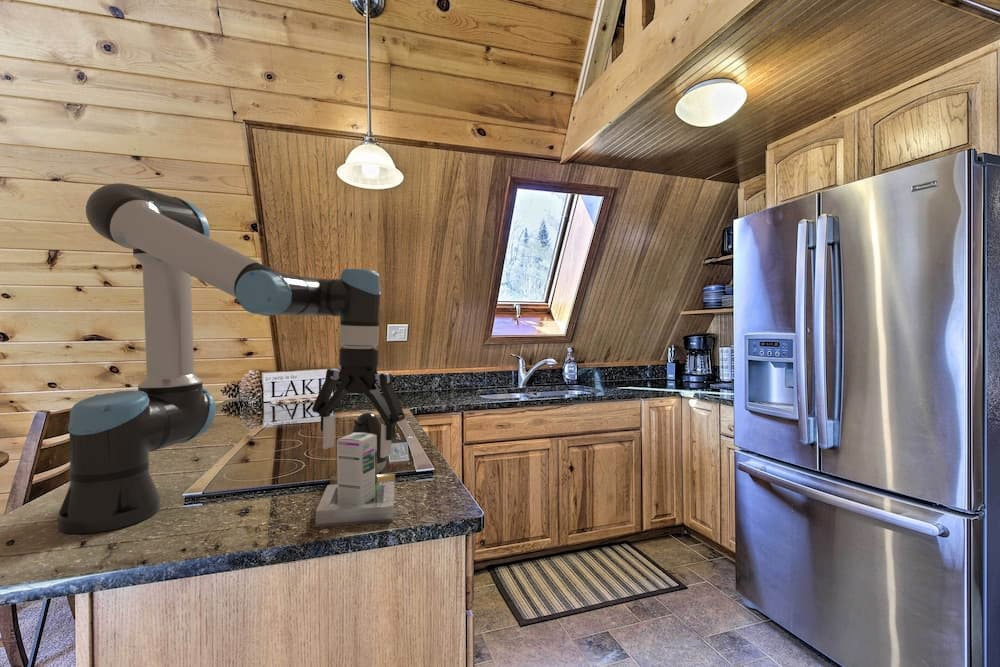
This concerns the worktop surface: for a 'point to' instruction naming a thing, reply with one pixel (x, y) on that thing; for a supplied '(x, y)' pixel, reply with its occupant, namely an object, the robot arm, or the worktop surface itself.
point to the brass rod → (379, 478)
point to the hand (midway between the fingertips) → (356, 451)
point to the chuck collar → (355, 508)
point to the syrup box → (357, 469)
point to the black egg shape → (373, 426)
